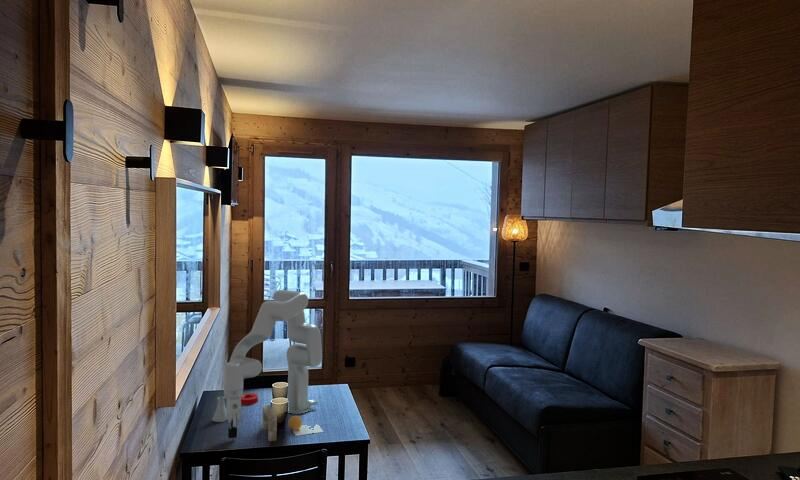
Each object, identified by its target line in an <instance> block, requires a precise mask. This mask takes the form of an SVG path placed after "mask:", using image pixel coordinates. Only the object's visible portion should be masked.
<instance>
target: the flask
mask: <svg viewBox="0 0 800 480" xmlns="http://www.w3.org/2000/svg"><path fill="white" fill-rule="evenodd" d="M216 399H217V405H216V408H215V411H214V414H213V417H212V419H211V421H212V422H215V423H225V422H226V421H228V419H227V413H226V403H225V399H226V398H224V396H218V397H217V398H216Z"/></svg>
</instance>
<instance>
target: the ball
mask: <svg viewBox="0 0 800 480" xmlns="http://www.w3.org/2000/svg"><path fill="white" fill-rule="evenodd" d="M302 424H303V419H302V418H301V417H300V416H299V415H292V416H291V417H289V419H288V421H287V426H288V428H289V429H290V430H298V429H299V428H300V427H301V426H302Z"/></svg>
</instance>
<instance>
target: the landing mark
mask: <svg viewBox="0 0 800 480" xmlns="http://www.w3.org/2000/svg"><path fill="white" fill-rule="evenodd" d="M317 424H318V423H317ZM317 424H316V425H315V426H314V428H311V429H309V427H311V426H307V425H302V426H301V427H300V428H299V429H298V430H292V429H291V430H292V432H293V433H294V435H295V436H296V437H299V436H306V435H312V433H314V434H319V433H320V434H321V433H324V430H323V428H321V426H320V425H319V424H318V425H317ZM305 426H306V427H305ZM312 429H314V430H312Z"/></svg>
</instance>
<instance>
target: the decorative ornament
mask: <svg viewBox="0 0 800 480" xmlns="http://www.w3.org/2000/svg"><path fill="white" fill-rule="evenodd" d="M257 403H259V395H258V394H257V393H252V392H249V393H248V392H247V393H243V397H241V406H242V405H243V406H251V405H255V404H257Z"/></svg>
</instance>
